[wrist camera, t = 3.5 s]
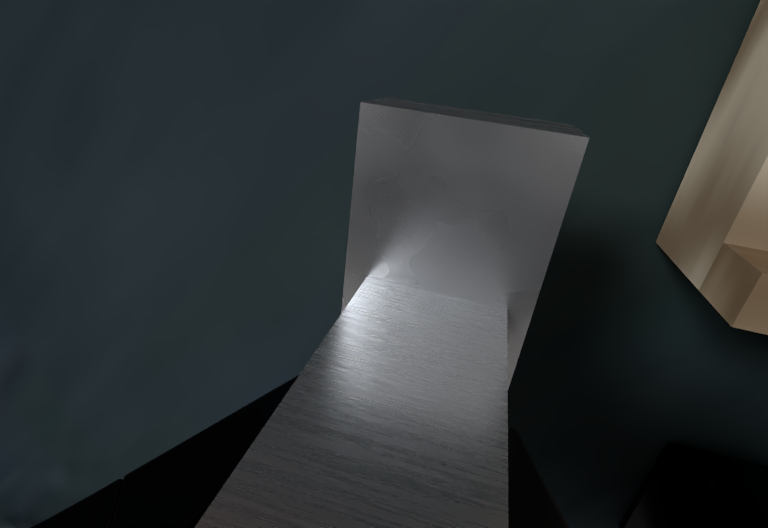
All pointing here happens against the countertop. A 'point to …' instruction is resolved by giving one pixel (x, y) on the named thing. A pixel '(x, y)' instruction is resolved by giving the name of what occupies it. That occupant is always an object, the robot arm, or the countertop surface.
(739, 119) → the slot block
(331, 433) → the scraper
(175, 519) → the robot arm
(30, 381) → the countertop surface
